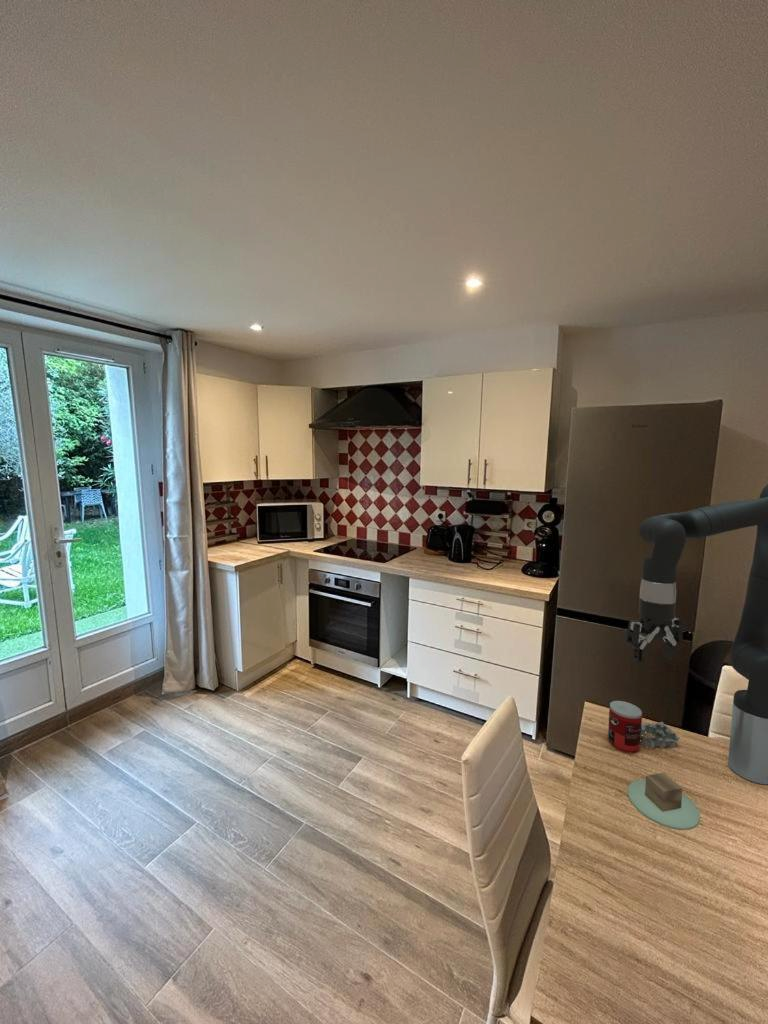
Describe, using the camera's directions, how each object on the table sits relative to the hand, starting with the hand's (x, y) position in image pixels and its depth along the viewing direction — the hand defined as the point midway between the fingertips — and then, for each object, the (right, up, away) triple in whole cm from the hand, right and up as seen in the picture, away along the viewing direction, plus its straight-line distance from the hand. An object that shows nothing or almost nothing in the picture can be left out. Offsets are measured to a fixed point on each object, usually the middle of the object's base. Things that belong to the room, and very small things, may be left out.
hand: (653, 660), depth 105 cm
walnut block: (-3, -31, -8) cm, 32 cm away
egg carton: (+10, -29, +15) cm, 34 cm away
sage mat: (-3, -31, -7) cm, 32 cm away
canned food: (0, -29, +13) cm, 32 cm away
